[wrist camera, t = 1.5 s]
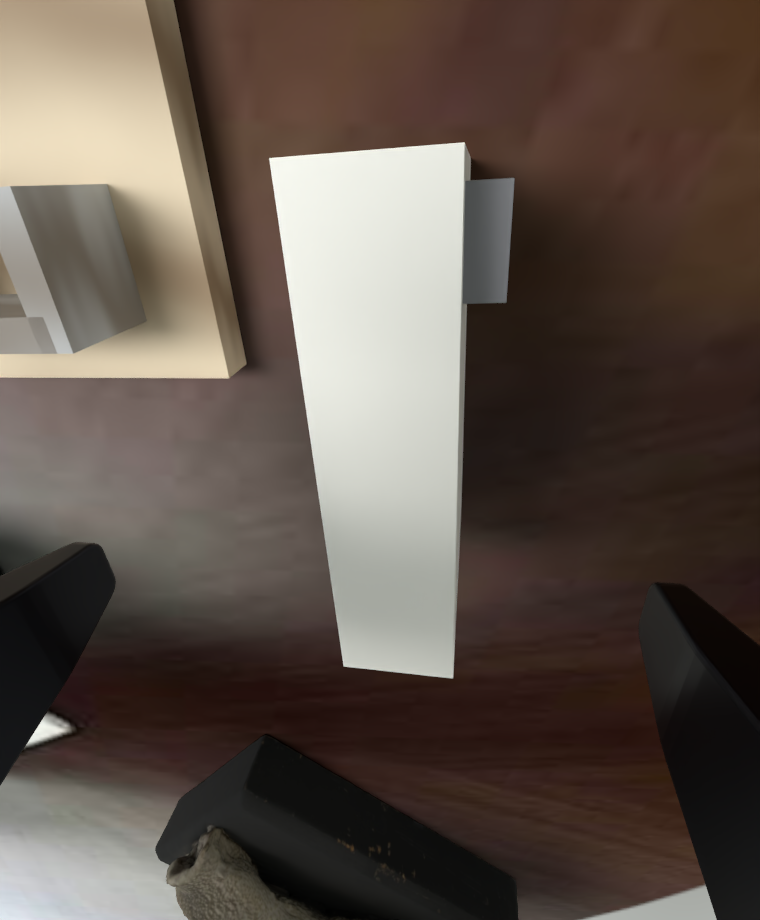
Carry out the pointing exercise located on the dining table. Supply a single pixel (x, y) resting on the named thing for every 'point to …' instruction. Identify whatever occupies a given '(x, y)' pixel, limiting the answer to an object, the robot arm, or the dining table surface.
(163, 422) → the dining table surface
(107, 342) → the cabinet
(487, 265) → the door
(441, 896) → the coral
